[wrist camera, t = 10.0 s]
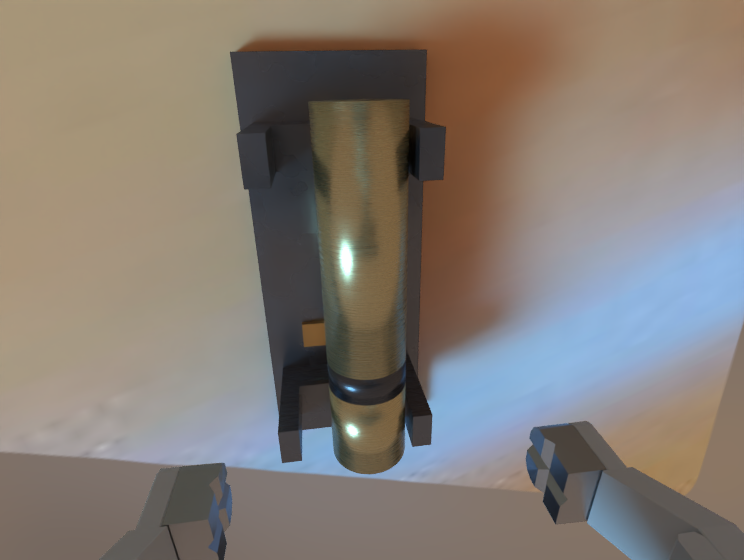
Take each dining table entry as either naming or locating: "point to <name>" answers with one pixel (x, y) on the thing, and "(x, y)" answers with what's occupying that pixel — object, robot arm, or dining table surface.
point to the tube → (363, 272)
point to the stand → (298, 213)
